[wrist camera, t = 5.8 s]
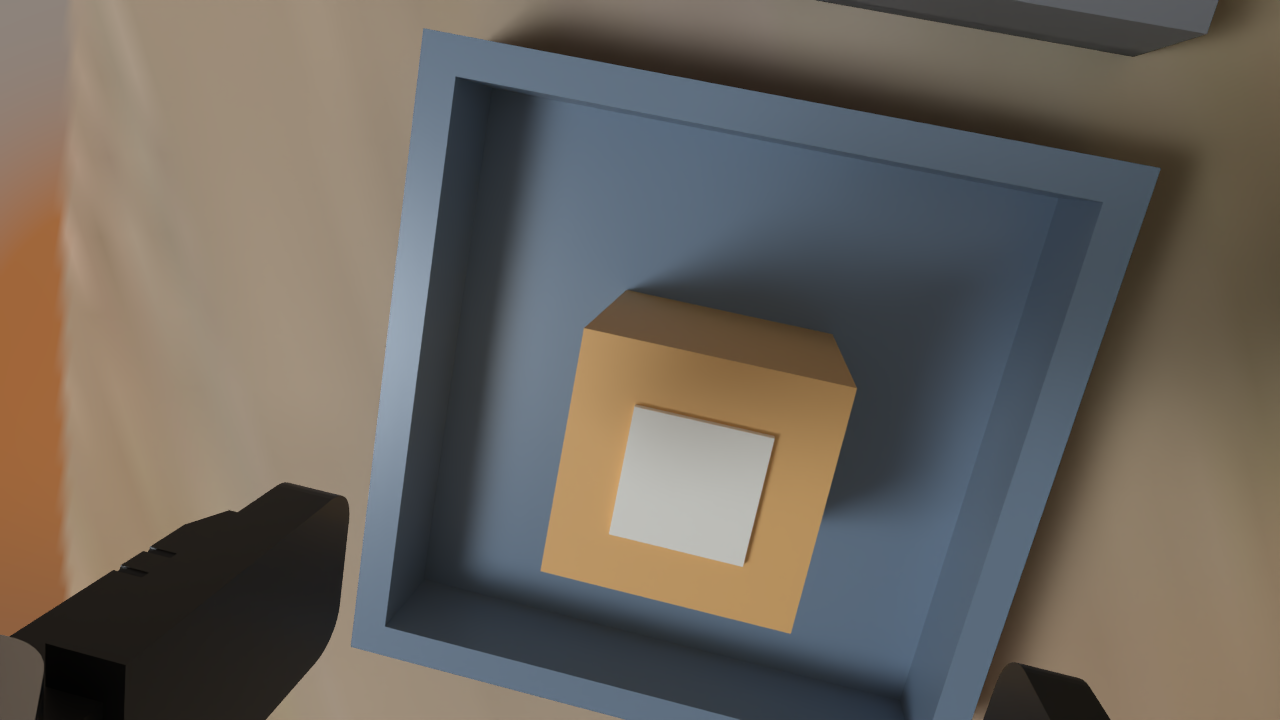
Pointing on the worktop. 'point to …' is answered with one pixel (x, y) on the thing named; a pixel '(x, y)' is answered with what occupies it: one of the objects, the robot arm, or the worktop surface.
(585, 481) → the orange cube
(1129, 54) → the charcoal tray
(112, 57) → the worktop surface
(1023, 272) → the slate-blue tray
